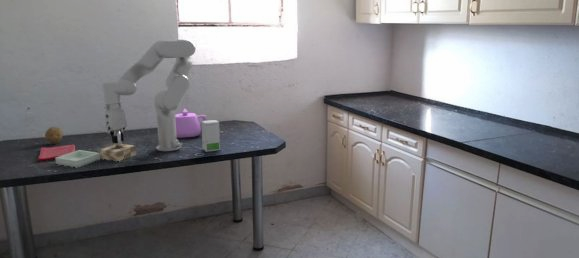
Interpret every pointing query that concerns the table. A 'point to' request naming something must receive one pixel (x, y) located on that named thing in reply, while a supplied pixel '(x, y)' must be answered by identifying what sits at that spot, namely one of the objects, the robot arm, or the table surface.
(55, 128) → the natural sponge
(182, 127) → the teapot
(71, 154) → the tray
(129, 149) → the hitch block
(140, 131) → the table surface
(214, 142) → the skincare box
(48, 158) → the dish towel
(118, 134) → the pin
